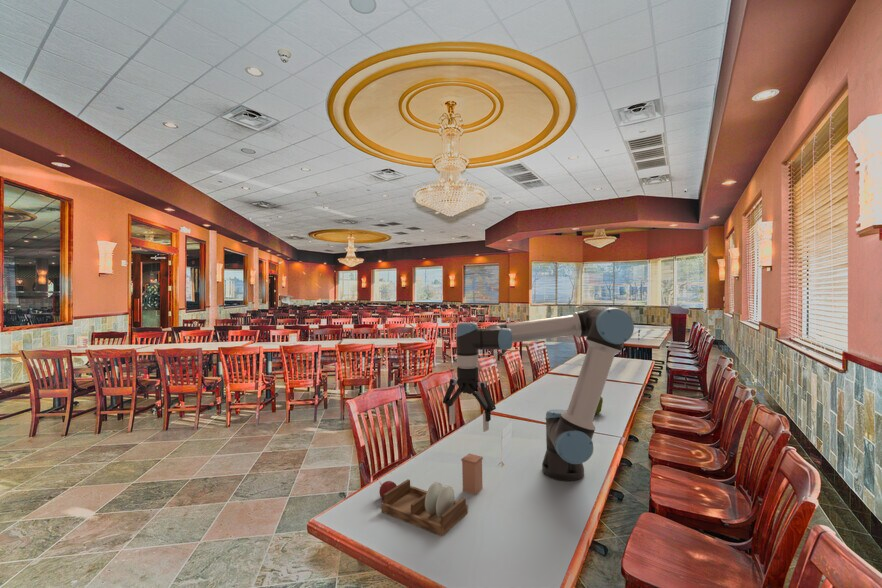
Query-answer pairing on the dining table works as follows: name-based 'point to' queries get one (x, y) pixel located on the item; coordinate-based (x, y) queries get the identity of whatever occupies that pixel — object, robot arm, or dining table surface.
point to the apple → (599, 406)
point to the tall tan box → (472, 473)
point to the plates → (439, 499)
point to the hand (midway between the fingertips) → (468, 427)
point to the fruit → (386, 488)
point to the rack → (420, 509)
